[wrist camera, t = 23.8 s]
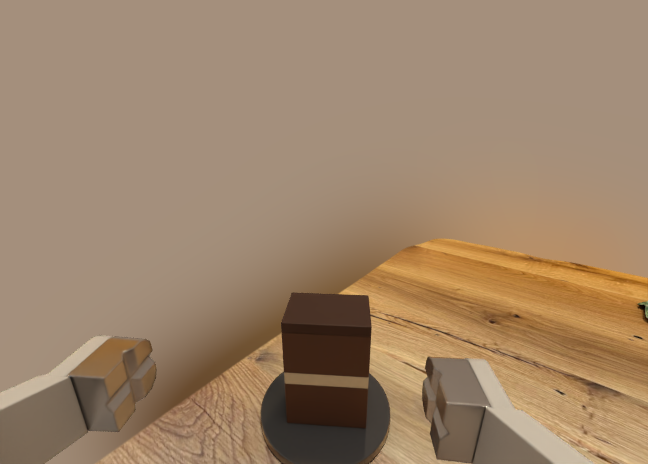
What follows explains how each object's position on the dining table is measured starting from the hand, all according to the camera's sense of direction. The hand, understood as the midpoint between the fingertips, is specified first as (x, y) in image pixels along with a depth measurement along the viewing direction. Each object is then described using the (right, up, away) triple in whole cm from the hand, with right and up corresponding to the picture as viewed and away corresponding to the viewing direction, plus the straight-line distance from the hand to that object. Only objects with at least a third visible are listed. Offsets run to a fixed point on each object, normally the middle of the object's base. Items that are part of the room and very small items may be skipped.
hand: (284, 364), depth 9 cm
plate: (+1, -11, +16) cm, 20 cm away
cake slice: (+1, -10, +16) cm, 19 cm away
